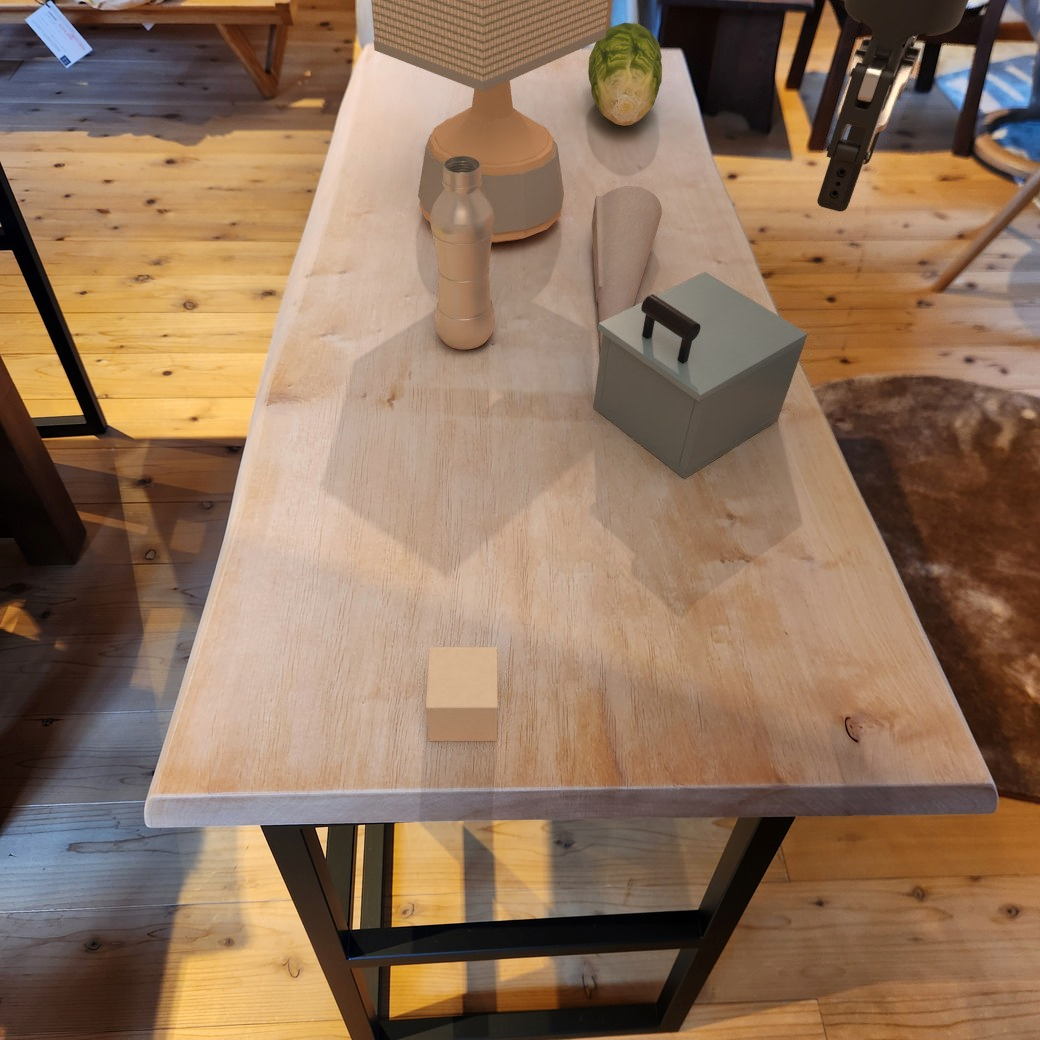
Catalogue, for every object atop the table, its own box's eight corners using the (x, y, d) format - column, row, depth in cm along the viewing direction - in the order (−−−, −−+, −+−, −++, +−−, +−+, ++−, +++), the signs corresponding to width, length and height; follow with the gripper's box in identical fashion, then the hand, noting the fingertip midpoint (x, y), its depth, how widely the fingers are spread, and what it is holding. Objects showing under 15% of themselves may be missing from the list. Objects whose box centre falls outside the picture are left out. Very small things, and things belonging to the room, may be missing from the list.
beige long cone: (686, 335, 89) (667, 187, 104) (604, 331, 89) (596, 183, 104) (671, 387, 96) (655, 240, 110) (595, 383, 95) (589, 237, 110)
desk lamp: (490, 166, 122) (493, -154, 95) (597, 212, 115) (633, -122, 87) (381, 222, 111) (349, -123, 83) (491, 277, 103) (496, -84, 76)
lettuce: (583, 143, 128) (591, 64, 120) (585, 88, 142) (592, 13, 133) (659, 148, 128) (672, 69, 119) (654, 92, 142) (665, 17, 133)
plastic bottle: (505, 334, 96) (510, 160, 81) (471, 365, 92) (469, 188, 77) (459, 314, 98) (454, 142, 83) (423, 344, 94) (412, 168, 79)
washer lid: (699, 402, 73) (710, 355, 70) (597, 330, 80) (602, 283, 76) (805, 340, 80) (821, 294, 76) (703, 278, 86) (713, 233, 83)
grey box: (684, 479, 81) (705, 399, 74) (592, 407, 88) (603, 327, 80) (778, 420, 87) (805, 340, 80) (685, 357, 94) (703, 278, 86)
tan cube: (496, 682, 66) (497, 646, 62) (496, 741, 63) (497, 707, 59) (432, 682, 66) (429, 646, 62) (428, 741, 62) (425, 707, 59)
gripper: (976, -24, 48) (875, 238, 60) (1001, -82, 56) (908, 157, 69) (843, -47, 50) (771, 211, 62) (887, -100, 58) (816, 136, 71)
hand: (843, 183), depth 65 cm, fingers open, 8 cm apart
